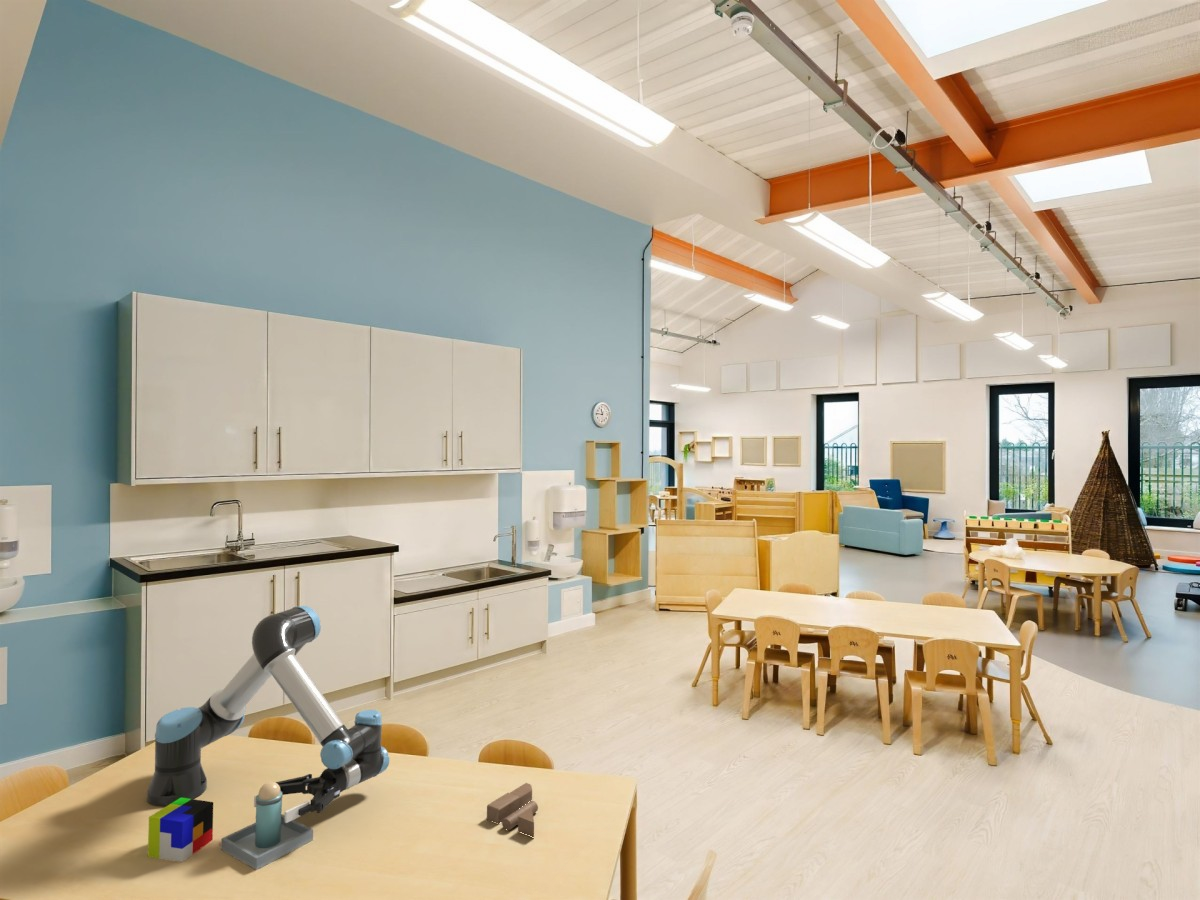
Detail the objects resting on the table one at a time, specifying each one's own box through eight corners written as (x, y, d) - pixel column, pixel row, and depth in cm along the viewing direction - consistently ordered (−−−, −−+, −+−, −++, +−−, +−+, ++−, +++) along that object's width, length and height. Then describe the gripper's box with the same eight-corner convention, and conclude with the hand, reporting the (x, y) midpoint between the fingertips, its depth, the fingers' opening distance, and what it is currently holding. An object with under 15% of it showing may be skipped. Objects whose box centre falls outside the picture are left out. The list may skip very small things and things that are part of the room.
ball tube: (249, 843, 176) (251, 784, 176) (272, 832, 181) (274, 775, 181) (263, 851, 173) (265, 791, 173) (286, 839, 178) (287, 781, 178)
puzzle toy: (181, 862, 169) (182, 822, 169) (147, 856, 171) (148, 817, 171) (212, 840, 179) (213, 802, 179) (179, 835, 181) (180, 797, 181)
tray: (221, 849, 174) (221, 838, 174) (277, 822, 188) (277, 812, 188) (256, 870, 166) (256, 858, 166) (313, 840, 179) (313, 829, 179)
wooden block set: (484, 802, 190) (525, 777, 205) (483, 823, 190) (525, 796, 205) (531, 820, 181) (570, 793, 196) (531, 842, 181) (570, 813, 196)
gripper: (368, 803, 188) (298, 839, 170) (312, 779, 202) (242, 809, 184) (368, 776, 188) (299, 809, 170) (313, 753, 202) (243, 782, 184)
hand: (269, 809), depth 177 cm, fingers open, 13 cm apart
